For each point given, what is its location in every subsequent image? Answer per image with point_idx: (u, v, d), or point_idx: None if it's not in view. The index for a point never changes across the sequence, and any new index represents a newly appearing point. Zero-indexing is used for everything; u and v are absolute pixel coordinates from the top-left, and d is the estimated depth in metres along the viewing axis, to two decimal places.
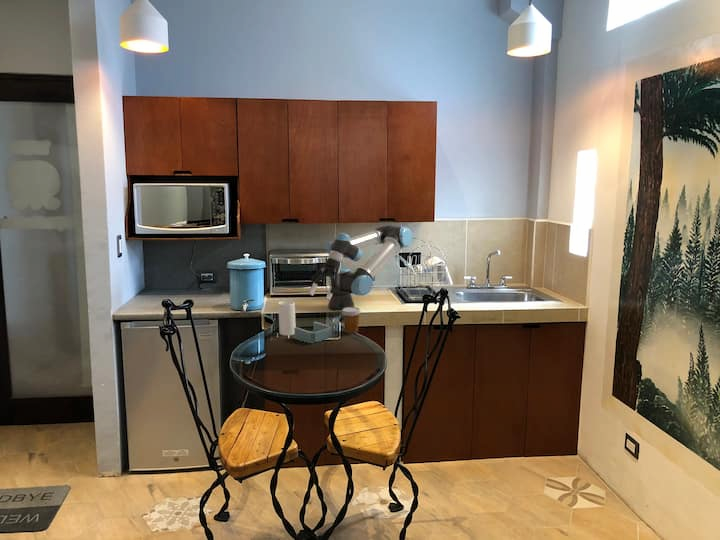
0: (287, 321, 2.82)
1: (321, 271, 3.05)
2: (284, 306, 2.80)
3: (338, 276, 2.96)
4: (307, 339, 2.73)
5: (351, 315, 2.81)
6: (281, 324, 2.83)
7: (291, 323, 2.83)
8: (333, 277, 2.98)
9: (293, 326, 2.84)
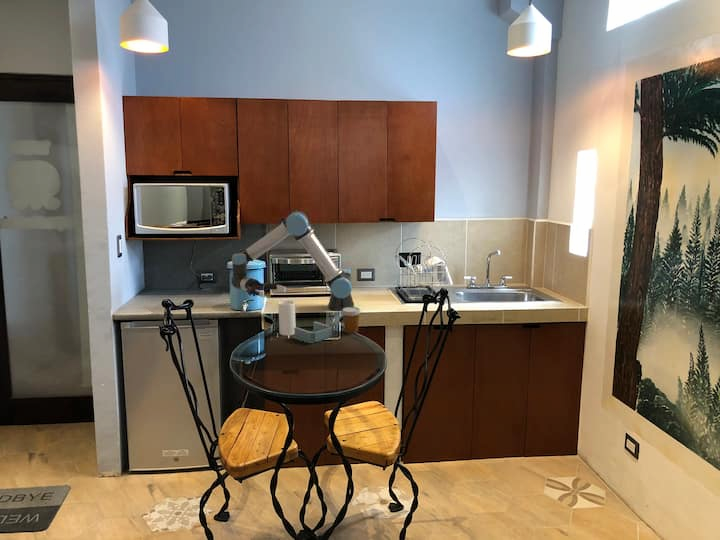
0: (287, 321, 2.82)
1: None
2: (284, 306, 2.80)
3: (247, 290, 2.93)
4: (307, 339, 2.73)
5: (351, 315, 2.81)
6: (281, 324, 2.83)
7: (291, 323, 2.83)
8: None
9: (293, 326, 2.84)
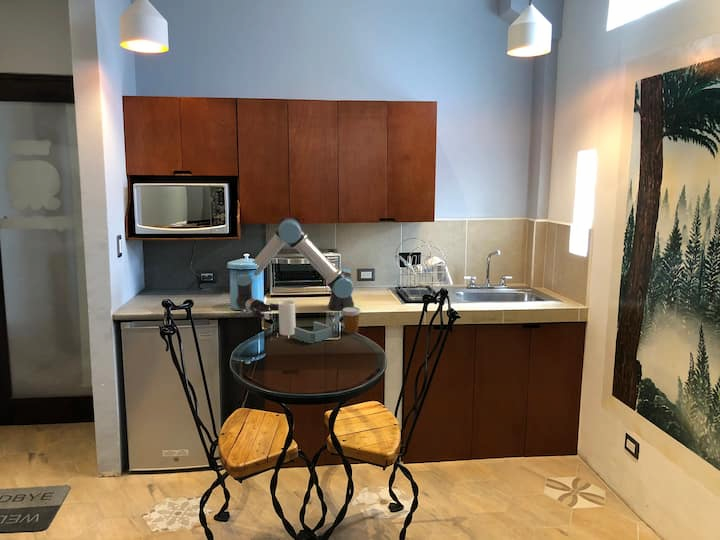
0: (287, 321, 2.82)
1: None
2: (284, 306, 2.80)
3: (252, 311, 2.92)
4: (307, 339, 2.73)
5: (351, 315, 2.81)
6: (281, 324, 2.83)
7: (291, 323, 2.83)
8: None
9: (293, 326, 2.84)
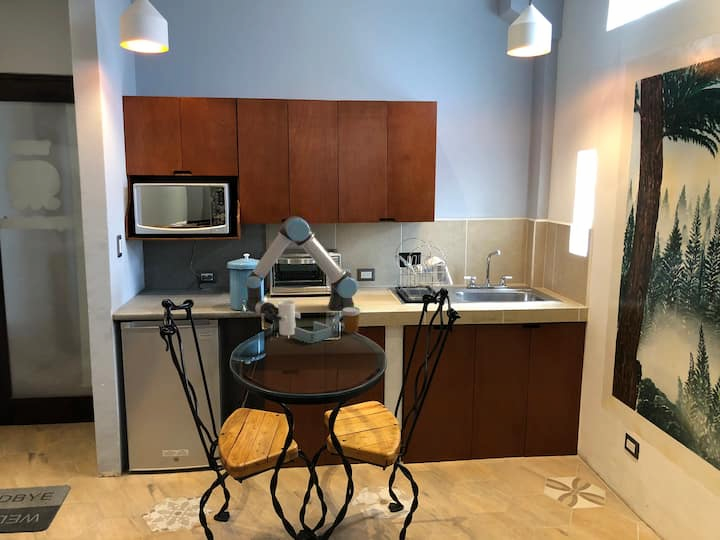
0: (287, 321, 2.82)
1: None
2: (284, 306, 2.80)
3: (266, 315, 2.87)
4: (307, 339, 2.73)
5: (351, 315, 2.81)
6: (281, 324, 2.83)
7: (291, 323, 2.83)
8: (271, 314, 2.88)
9: (293, 326, 2.84)
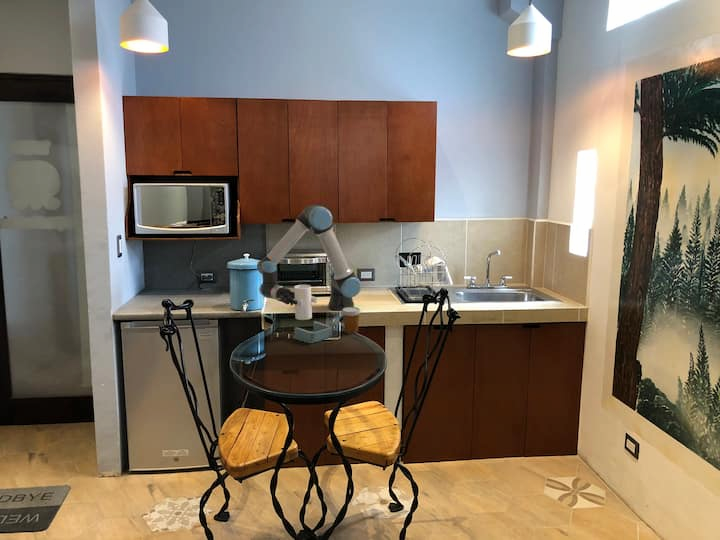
0: (303, 305, 2.77)
1: None
2: (301, 290, 2.75)
3: (281, 299, 2.82)
4: (307, 339, 2.73)
5: (351, 315, 2.81)
6: (297, 308, 2.78)
7: (307, 307, 2.78)
8: (287, 298, 2.84)
9: (309, 310, 2.80)
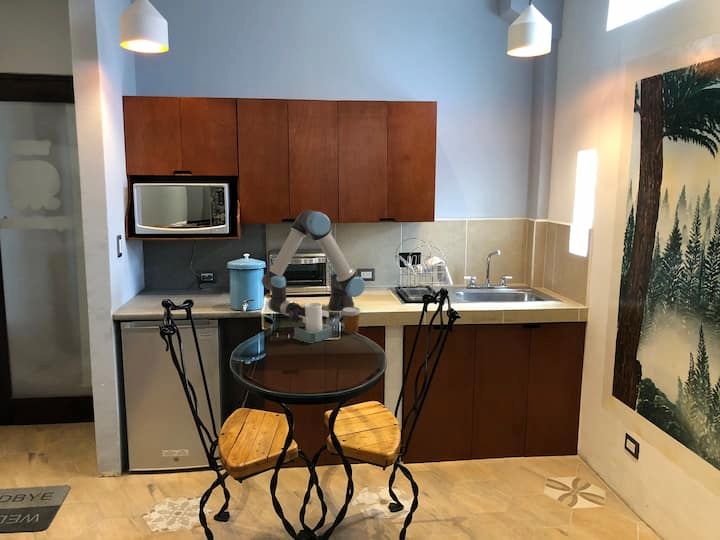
0: (314, 324, 2.75)
1: None
2: (312, 308, 2.73)
3: (289, 315, 2.79)
4: (307, 339, 2.73)
5: (351, 315, 2.81)
6: (308, 327, 2.76)
7: (318, 326, 2.76)
8: None
9: (320, 329, 2.77)
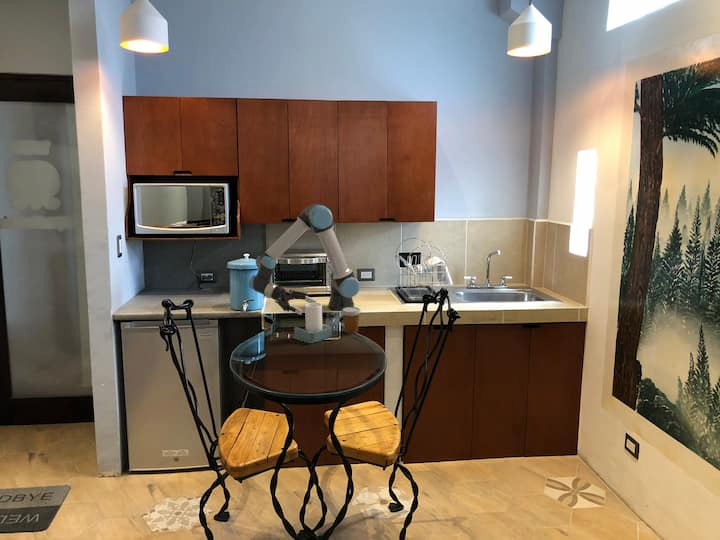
0: (314, 324, 2.75)
1: None
2: (312, 308, 2.73)
3: (279, 302, 2.87)
4: (307, 339, 2.73)
5: (351, 315, 2.81)
6: (308, 327, 2.76)
7: (318, 326, 2.76)
8: (284, 302, 2.89)
9: (320, 329, 2.77)
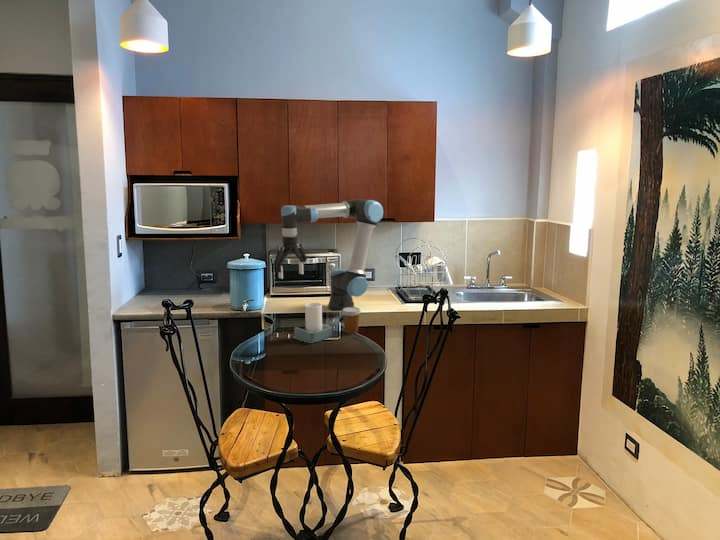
0: (314, 324, 2.75)
1: (298, 248, 2.95)
2: (312, 308, 2.73)
3: (278, 253, 2.86)
4: (307, 339, 2.73)
5: (351, 315, 2.81)
6: (308, 327, 2.76)
7: (318, 326, 2.76)
8: (283, 255, 2.88)
9: (320, 329, 2.77)
